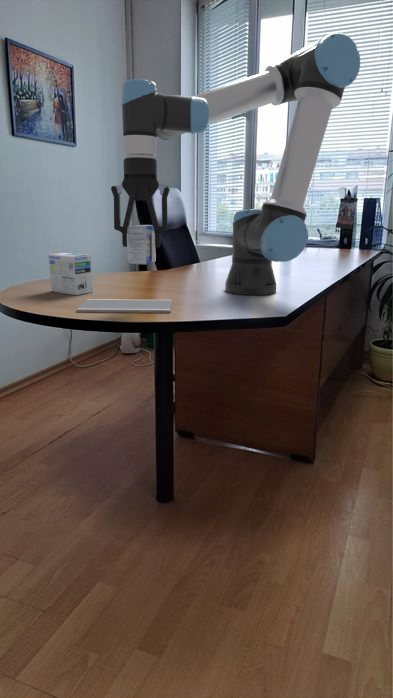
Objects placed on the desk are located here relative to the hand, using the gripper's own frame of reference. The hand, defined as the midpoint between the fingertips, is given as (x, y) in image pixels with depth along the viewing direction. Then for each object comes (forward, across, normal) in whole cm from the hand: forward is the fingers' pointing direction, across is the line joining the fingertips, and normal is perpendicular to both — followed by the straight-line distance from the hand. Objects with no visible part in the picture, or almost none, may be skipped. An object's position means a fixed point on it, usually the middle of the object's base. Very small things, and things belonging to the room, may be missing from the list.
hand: (141, 260), depth 115 cm
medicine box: (+1, 0, 0) cm, 1 cm away
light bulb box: (+12, +22, -20) cm, 32 cm away
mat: (+11, +4, 0) cm, 12 cm away
